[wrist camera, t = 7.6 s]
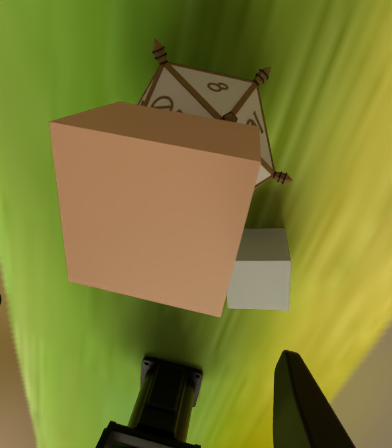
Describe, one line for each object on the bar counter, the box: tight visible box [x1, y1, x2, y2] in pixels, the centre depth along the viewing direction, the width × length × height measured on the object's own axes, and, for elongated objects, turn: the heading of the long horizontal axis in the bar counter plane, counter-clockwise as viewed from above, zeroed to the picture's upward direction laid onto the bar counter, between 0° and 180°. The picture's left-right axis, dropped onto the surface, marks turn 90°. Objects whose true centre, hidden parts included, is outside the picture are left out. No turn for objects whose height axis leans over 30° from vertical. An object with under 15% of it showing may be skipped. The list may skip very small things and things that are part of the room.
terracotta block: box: [49, 102, 261, 318], centre depth 9 cm, size 5×5×4 cm
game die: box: [137, 39, 293, 190], centre depth 14 cm, size 9×8×10 cm
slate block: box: [227, 228, 291, 311], centre depth 20 cm, size 4×4×4 cm
